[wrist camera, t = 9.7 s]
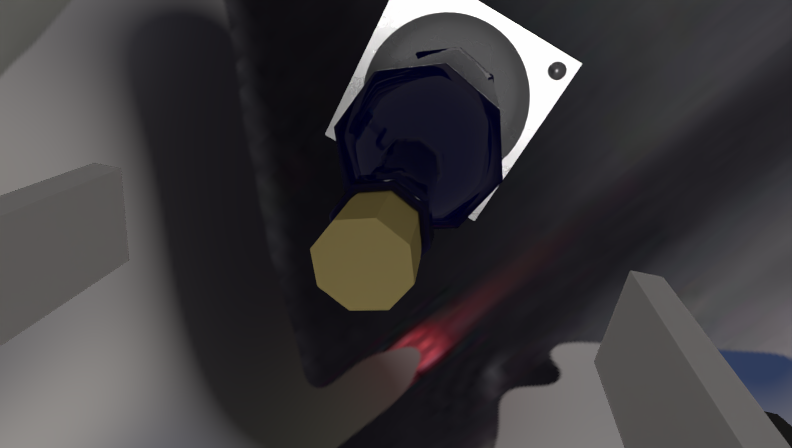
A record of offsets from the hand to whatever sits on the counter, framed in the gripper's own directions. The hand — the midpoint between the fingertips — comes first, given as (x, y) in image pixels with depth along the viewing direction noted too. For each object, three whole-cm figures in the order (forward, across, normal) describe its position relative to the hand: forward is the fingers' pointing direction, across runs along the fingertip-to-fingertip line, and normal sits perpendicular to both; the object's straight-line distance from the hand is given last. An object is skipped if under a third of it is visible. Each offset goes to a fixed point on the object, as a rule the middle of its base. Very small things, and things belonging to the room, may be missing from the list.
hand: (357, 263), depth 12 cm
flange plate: (+32, 0, 0) cm, 32 cm away
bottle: (+30, 0, 0) cm, 30 cm away
